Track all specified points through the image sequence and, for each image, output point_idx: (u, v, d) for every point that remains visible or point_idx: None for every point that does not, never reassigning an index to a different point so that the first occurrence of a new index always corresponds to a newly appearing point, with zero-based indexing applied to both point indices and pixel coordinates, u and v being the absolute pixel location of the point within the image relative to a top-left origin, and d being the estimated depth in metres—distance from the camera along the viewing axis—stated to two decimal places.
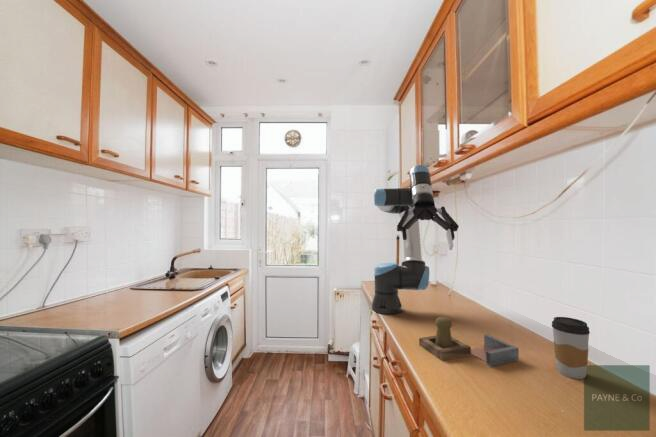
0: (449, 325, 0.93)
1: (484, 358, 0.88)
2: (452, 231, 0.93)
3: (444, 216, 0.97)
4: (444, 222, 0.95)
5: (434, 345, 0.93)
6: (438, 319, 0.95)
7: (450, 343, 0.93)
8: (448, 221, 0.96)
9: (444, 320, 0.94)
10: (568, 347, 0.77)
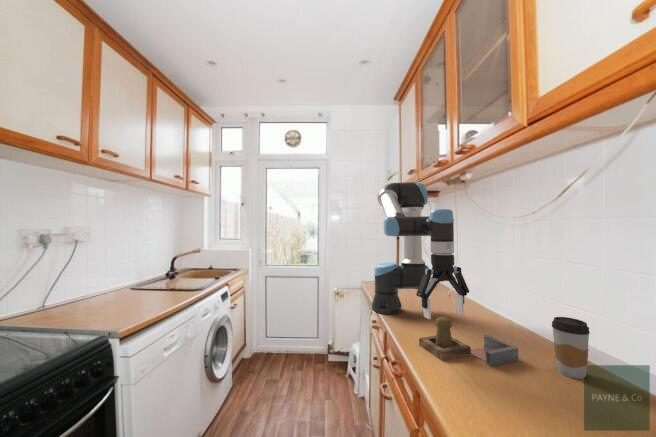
0: (449, 325, 0.93)
1: (484, 358, 0.88)
2: (463, 296, 0.97)
3: (458, 277, 0.97)
4: (459, 287, 0.96)
5: (434, 345, 0.93)
6: (438, 319, 0.95)
7: (450, 343, 0.93)
8: (460, 283, 0.97)
9: (444, 320, 0.94)
10: (568, 347, 0.77)
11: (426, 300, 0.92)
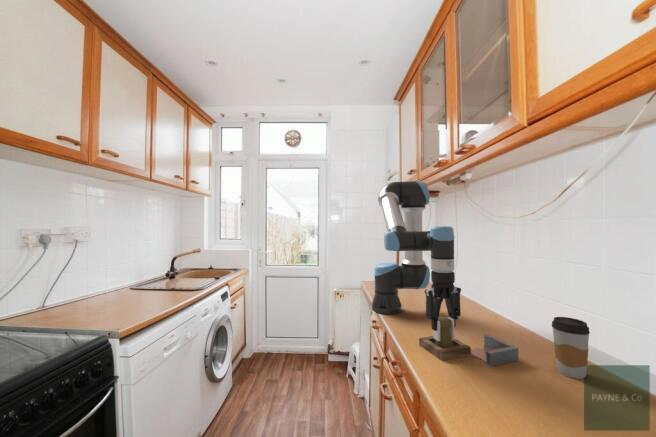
0: (449, 325, 0.93)
1: (484, 358, 0.88)
2: (454, 320, 0.96)
3: (455, 297, 0.97)
4: (453, 309, 0.95)
5: (434, 345, 0.93)
6: (438, 319, 0.95)
7: (450, 343, 0.93)
8: (455, 304, 0.97)
9: (444, 320, 0.93)
10: (568, 347, 0.77)
11: (436, 322, 0.93)
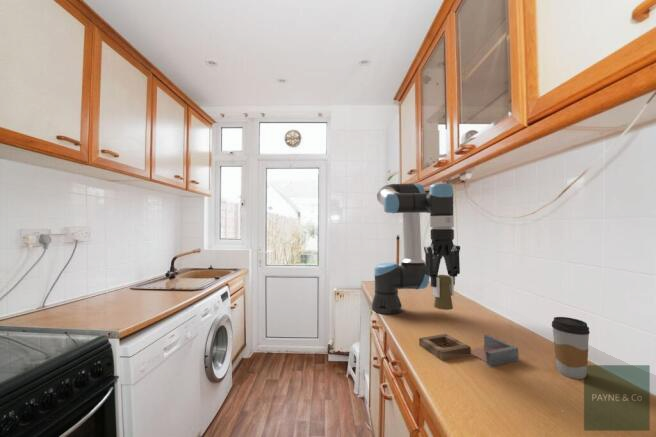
0: (448, 281, 0.93)
1: (484, 358, 0.88)
2: (453, 277, 0.96)
3: (454, 255, 0.97)
4: (452, 266, 0.95)
5: (434, 345, 0.93)
6: (437, 276, 0.95)
7: (449, 299, 0.93)
8: (454, 262, 0.97)
9: (443, 276, 0.94)
10: (568, 347, 0.77)
11: (435, 279, 0.94)
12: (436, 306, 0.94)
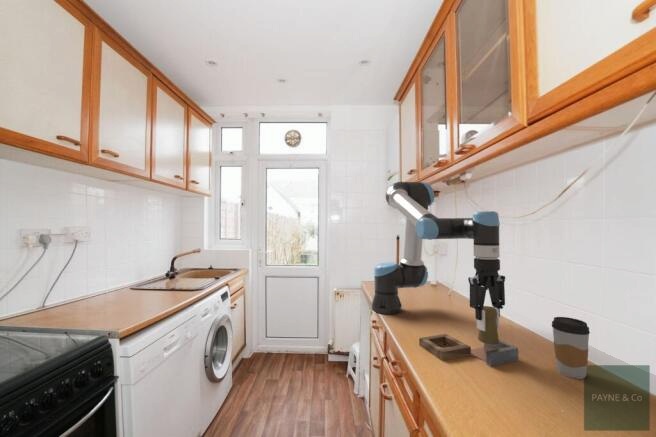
0: (495, 314, 0.89)
1: (484, 358, 0.88)
2: (498, 309, 0.92)
3: (499, 286, 0.93)
4: (497, 298, 0.91)
5: (434, 345, 0.93)
6: None
7: (496, 333, 0.89)
8: (498, 293, 0.93)
9: (489, 309, 0.89)
10: (568, 347, 0.77)
11: (480, 311, 0.89)
12: (481, 340, 0.90)
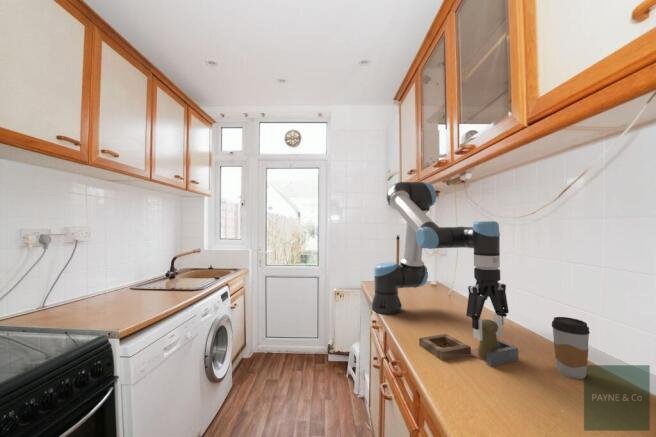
0: (496, 329, 0.88)
1: (484, 358, 0.88)
2: (502, 317, 0.92)
3: (500, 294, 0.93)
4: (500, 306, 0.91)
5: (434, 345, 0.93)
6: (483, 322, 0.90)
7: (496, 347, 0.89)
8: (501, 301, 0.93)
9: (490, 323, 0.89)
10: (568, 347, 0.77)
11: (477, 321, 0.89)
12: (481, 354, 0.90)
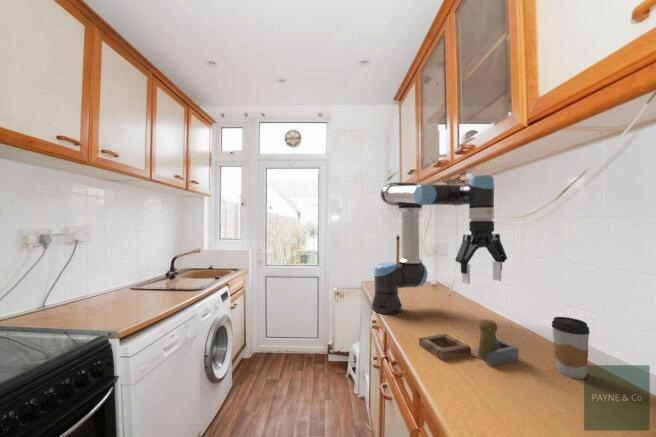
0: (495, 328, 0.89)
1: (484, 358, 0.88)
2: (501, 263, 0.97)
3: (496, 244, 0.97)
4: (497, 254, 0.96)
5: (434, 345, 0.93)
6: (482, 322, 0.91)
7: (496, 347, 0.89)
8: (498, 250, 0.98)
9: (489, 323, 0.89)
10: (568, 347, 0.77)
11: (466, 265, 0.93)
12: (481, 354, 0.90)
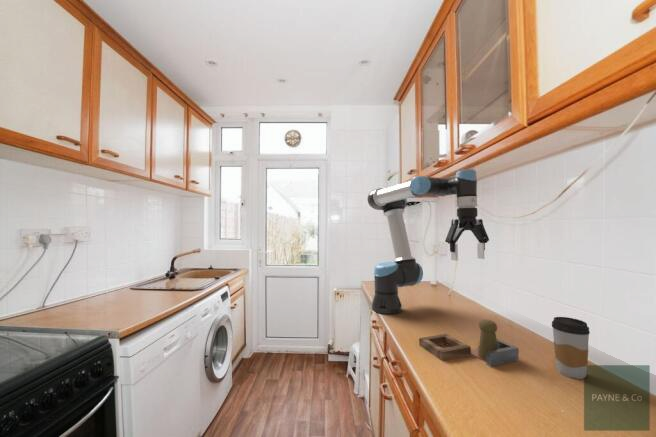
0: (495, 328, 0.89)
1: (484, 358, 0.88)
2: (484, 244, 1.15)
3: (479, 228, 1.15)
4: (480, 236, 1.14)
5: (434, 345, 0.93)
6: (482, 322, 0.91)
7: (496, 347, 0.89)
8: (481, 233, 1.15)
9: (489, 323, 0.89)
10: (568, 347, 0.77)
11: (454, 245, 1.10)
12: (481, 354, 0.90)
